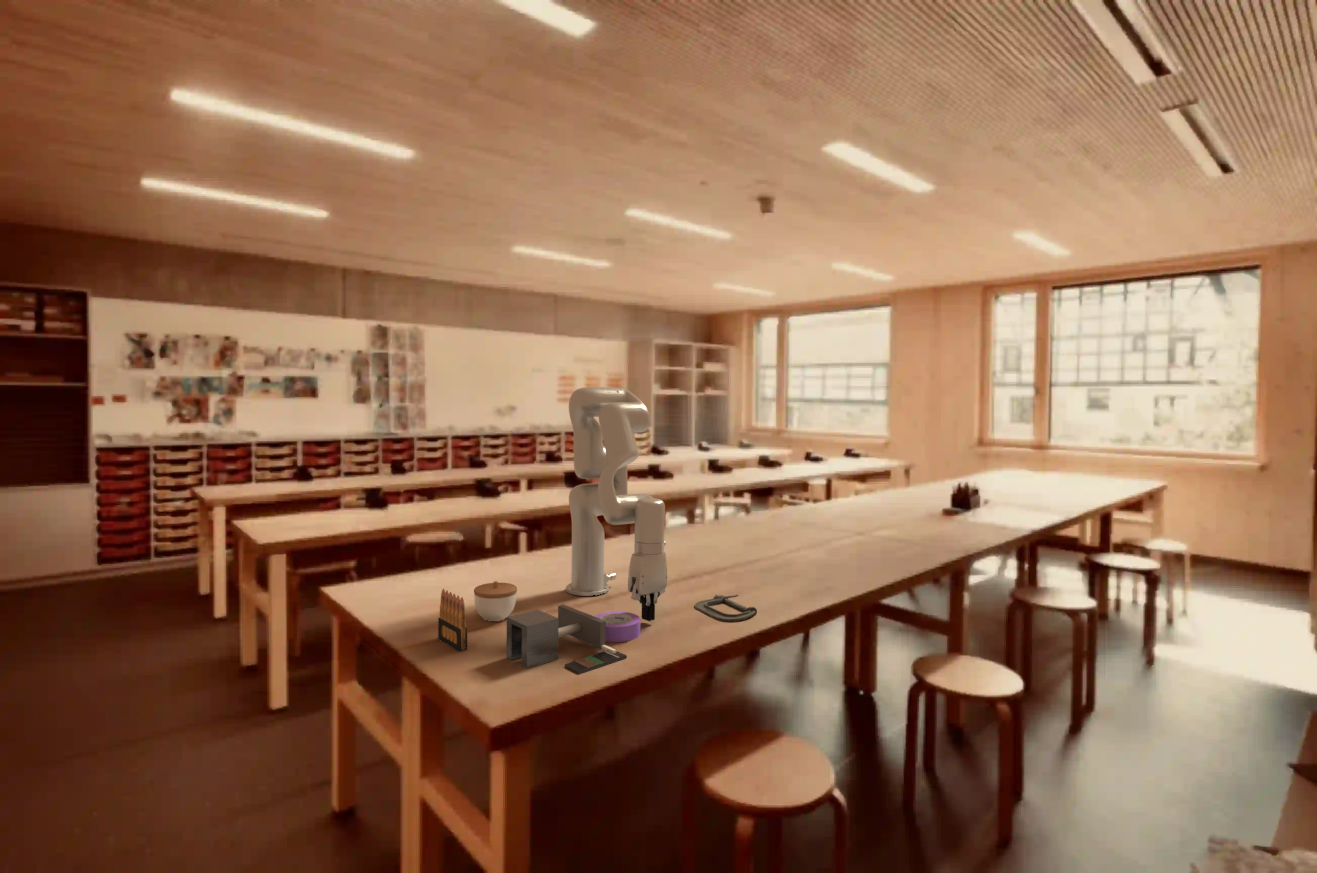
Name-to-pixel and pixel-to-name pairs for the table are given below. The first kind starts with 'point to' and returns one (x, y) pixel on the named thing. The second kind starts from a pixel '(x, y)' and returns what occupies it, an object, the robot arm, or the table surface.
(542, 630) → the grey slide fixture
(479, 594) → the lidded jar
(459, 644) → the ammunition clip
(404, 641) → the table surface
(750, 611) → the c clamp
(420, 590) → the table surface
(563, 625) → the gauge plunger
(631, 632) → the masking tape
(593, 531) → the robot arm
